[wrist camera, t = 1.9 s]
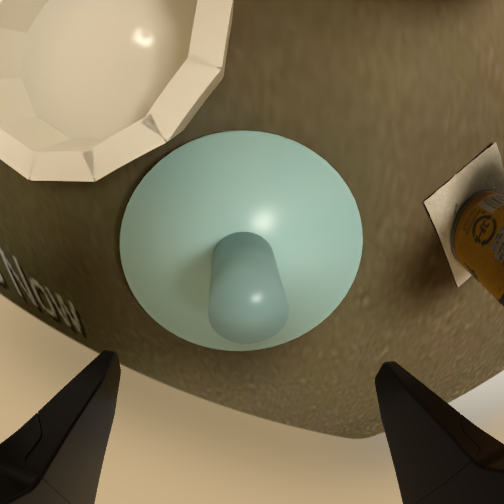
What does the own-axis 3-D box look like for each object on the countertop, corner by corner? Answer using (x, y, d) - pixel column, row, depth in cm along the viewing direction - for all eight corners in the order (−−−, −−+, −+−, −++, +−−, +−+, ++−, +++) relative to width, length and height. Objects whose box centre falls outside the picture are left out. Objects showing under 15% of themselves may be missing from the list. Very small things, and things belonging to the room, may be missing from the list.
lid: (381, 153, 15) (439, 180, 10) (325, 345, 21) (346, 405, 16) (125, 121, 13) (78, 134, 9) (131, 333, 19) (112, 396, 14)
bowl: (245, -51, 10) (252, -93, 6) (212, 164, 15) (207, 189, 11) (37, -30, 9) (-5, -50, 5) (13, 159, 14) (-35, 181, 10)
